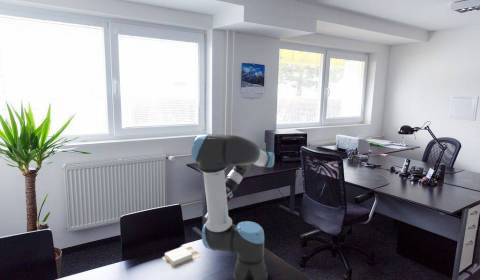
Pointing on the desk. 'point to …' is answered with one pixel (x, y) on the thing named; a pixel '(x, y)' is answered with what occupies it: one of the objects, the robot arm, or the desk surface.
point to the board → (194, 256)
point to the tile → (178, 255)
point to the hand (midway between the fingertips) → (206, 218)
